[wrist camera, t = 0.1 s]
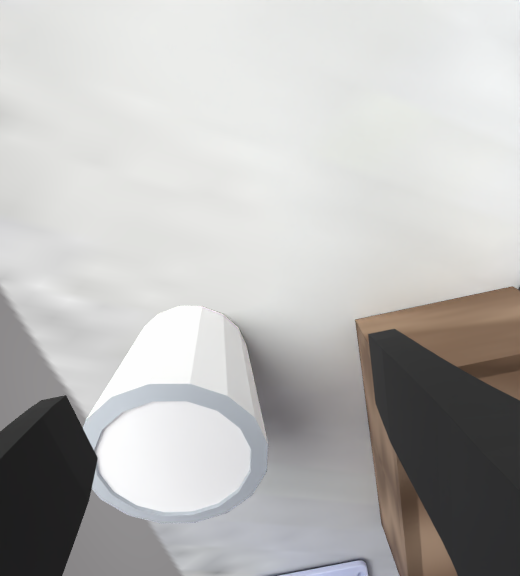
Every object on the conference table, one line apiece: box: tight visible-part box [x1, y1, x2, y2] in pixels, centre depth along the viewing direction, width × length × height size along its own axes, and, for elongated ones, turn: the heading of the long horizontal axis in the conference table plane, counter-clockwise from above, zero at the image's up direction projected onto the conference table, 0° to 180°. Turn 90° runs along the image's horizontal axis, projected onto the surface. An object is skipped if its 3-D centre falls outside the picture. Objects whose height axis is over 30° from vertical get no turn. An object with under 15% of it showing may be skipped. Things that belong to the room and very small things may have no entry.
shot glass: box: [83, 306, 268, 523], centre depth 18 cm, size 7×7×7 cm
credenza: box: [355, 287, 520, 576], centre depth 21 cm, size 16×10×5 cm, turn 12°
